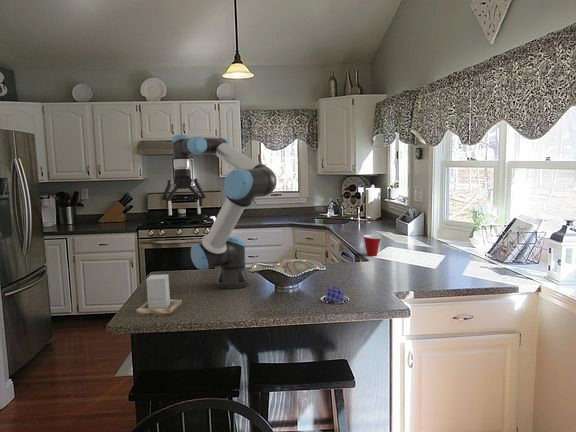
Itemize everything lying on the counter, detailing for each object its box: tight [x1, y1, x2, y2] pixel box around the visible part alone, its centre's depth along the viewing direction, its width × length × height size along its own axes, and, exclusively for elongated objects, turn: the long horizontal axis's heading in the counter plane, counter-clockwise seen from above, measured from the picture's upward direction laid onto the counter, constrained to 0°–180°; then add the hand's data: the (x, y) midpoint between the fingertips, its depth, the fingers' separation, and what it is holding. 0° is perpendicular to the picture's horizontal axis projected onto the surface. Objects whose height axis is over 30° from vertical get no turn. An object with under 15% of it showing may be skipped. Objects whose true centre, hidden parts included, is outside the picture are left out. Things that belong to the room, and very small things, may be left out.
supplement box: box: [145, 274, 171, 309], centre depth 186 cm, size 7×7×13 cm
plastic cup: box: [363, 234, 382, 257], centre depth 283 cm, size 11×11×12 cm
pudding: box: [320, 286, 350, 304], centre depth 195 cm, size 12×12×5 cm
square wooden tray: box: [135, 299, 184, 316], centre depth 187 cm, size 14×14×2 cm
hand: (184, 214), depth 220 cm, fingers open, 13 cm apart
